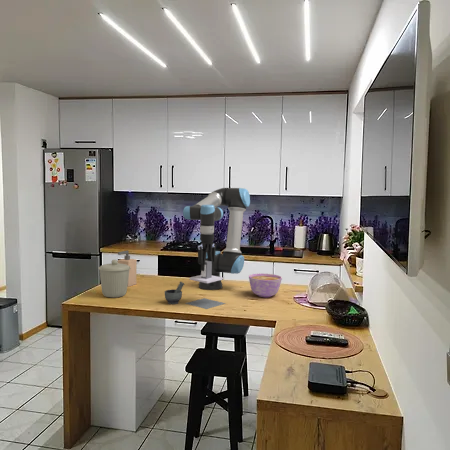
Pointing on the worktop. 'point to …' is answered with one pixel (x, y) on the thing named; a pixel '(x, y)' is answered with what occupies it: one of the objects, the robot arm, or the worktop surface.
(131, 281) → the soap dispenser
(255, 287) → the bowl of food
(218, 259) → the robot arm
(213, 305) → the mat
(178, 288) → the mortar and pestle
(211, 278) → the cover board
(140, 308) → the worktop surface
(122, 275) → the canister
